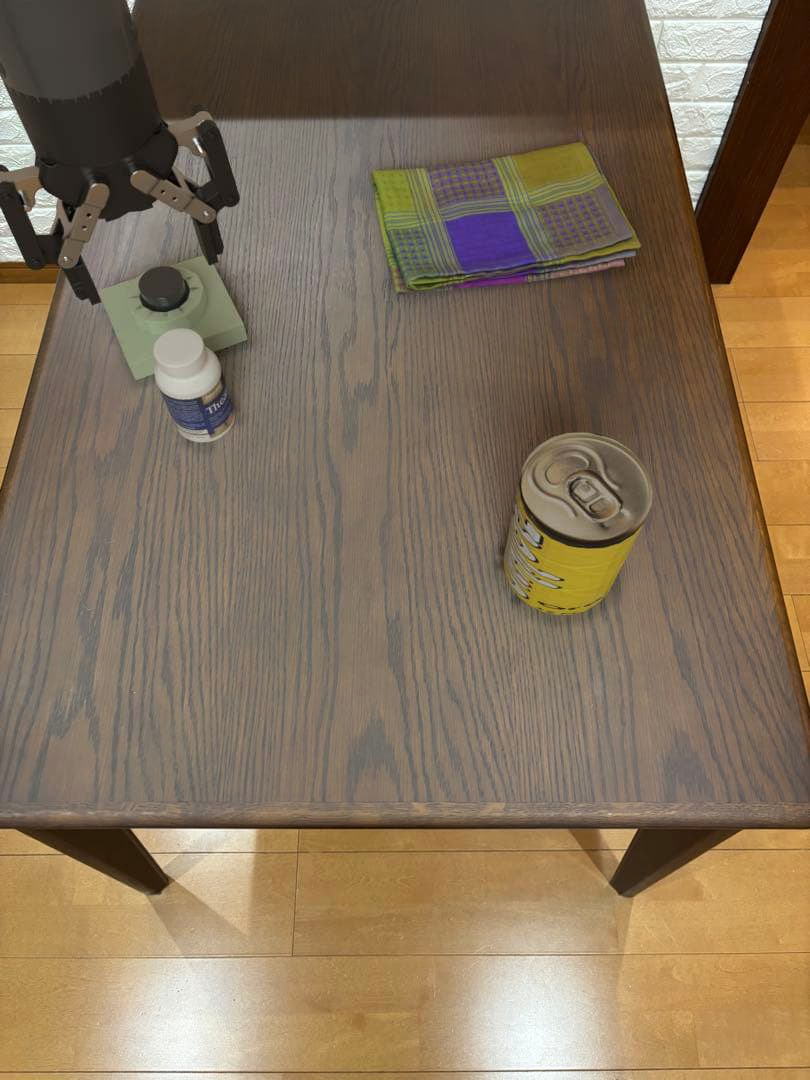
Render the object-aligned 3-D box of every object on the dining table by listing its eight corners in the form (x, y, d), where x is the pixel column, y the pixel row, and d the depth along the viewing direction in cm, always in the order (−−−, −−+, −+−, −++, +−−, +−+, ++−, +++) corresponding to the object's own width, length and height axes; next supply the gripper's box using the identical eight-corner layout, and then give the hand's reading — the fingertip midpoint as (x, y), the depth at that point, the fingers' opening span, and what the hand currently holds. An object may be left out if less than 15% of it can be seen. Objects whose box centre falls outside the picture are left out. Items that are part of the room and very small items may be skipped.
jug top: (135, 380, 76) (122, 352, 72) (105, 306, 80) (91, 276, 76) (248, 340, 78) (240, 310, 74) (213, 269, 82) (203, 238, 78)
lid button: (151, 318, 74) (145, 304, 73) (138, 288, 76) (132, 274, 74) (193, 303, 75) (188, 289, 74) (179, 274, 77) (174, 260, 75)
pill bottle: (228, 448, 72) (202, 377, 63) (168, 440, 73) (135, 369, 64) (243, 399, 74) (220, 324, 66) (185, 392, 75) (155, 317, 66)
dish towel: (368, 181, 87) (367, 159, 85) (591, 152, 89) (596, 129, 87) (396, 304, 79) (395, 283, 77) (640, 269, 81) (647, 248, 79)
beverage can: (558, 495, 69) (583, 410, 59) (638, 568, 66) (680, 492, 56) (480, 558, 67) (491, 481, 56) (559, 637, 64) (587, 571, 53)
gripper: (173, -22, 47) (229, 212, 61) (-82, 46, 44) (40, 273, 58) (216, 51, 44) (265, 279, 58) (-56, 128, 41) (66, 347, 55)
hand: (152, 276), depth 58 cm, fingers open, 8 cm apart
